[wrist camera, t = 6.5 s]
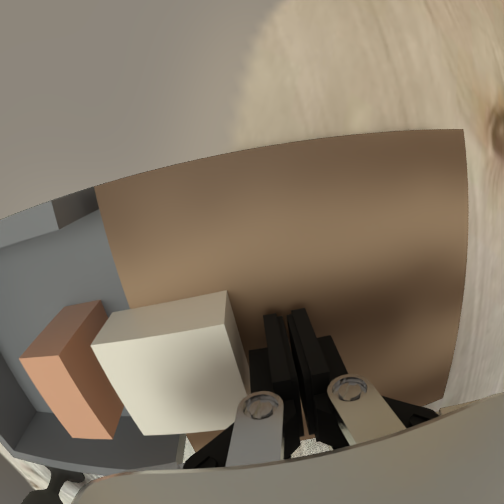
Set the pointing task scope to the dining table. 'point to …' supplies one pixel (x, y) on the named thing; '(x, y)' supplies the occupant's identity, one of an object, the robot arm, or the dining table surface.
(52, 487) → the sundae
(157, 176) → the walnut board
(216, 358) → the cream tile
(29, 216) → the box
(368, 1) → the dining table surface
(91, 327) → the terracotta tile
